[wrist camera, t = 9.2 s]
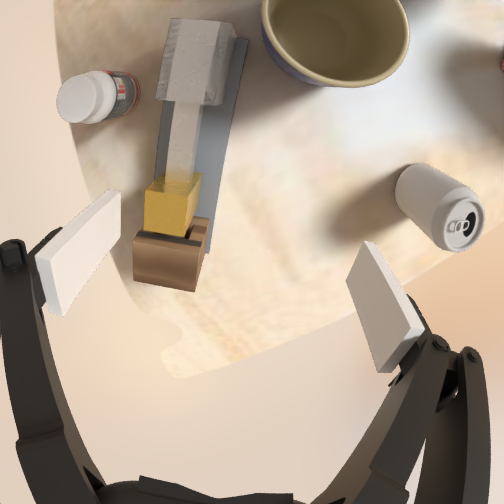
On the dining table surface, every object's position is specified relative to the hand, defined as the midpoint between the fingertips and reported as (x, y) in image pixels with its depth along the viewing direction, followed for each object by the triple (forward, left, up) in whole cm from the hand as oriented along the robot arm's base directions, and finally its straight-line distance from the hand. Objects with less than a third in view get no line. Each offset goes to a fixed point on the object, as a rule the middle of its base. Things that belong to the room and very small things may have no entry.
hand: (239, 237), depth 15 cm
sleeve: (-10, -7, -21) cm, 24 cm away
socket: (+11, -7, -21) cm, 24 cm away
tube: (0, -7, -19) cm, 20 cm away
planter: (-16, +4, -21) cm, 26 cm away
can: (-2, +22, -21) cm, 31 cm away
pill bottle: (-6, -17, -21) cm, 27 cm away
